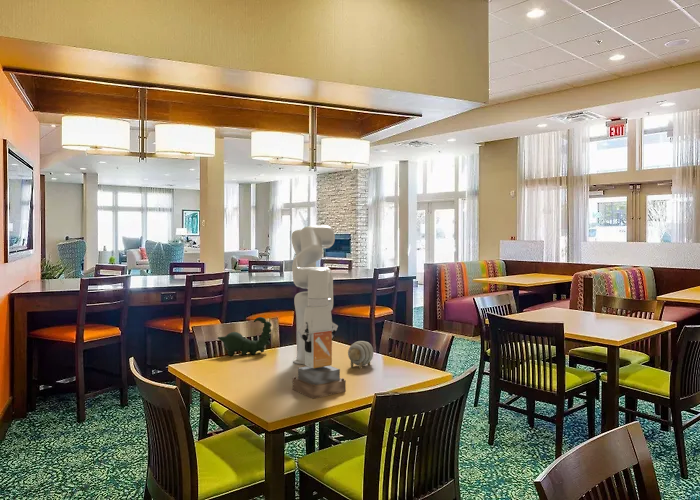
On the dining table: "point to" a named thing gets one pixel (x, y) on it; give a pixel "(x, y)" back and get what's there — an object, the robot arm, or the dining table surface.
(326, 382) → the grey and wooden block
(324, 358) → the small box
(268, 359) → the dining table surface
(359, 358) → the toy sheep
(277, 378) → the dining table surface
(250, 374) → the dining table surface
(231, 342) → the toy figurine
